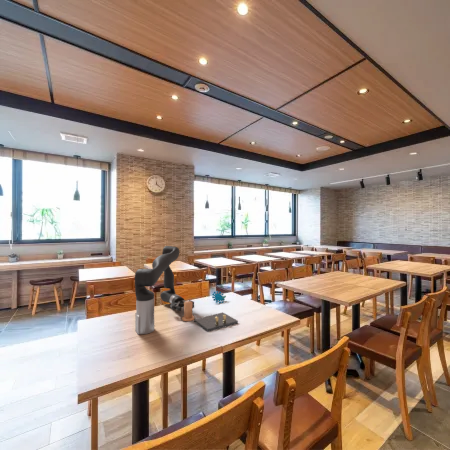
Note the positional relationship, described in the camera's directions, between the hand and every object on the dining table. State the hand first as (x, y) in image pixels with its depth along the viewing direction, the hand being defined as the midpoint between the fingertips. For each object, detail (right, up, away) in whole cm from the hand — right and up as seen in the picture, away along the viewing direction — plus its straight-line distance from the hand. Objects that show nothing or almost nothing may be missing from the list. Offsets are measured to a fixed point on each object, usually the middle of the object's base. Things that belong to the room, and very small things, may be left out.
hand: (187, 308), depth 148 cm
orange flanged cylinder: (+1, -6, -1) cm, 6 cm away
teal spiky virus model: (+19, -6, +30) cm, 36 cm away
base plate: (+18, -6, -7) cm, 20 cm away
